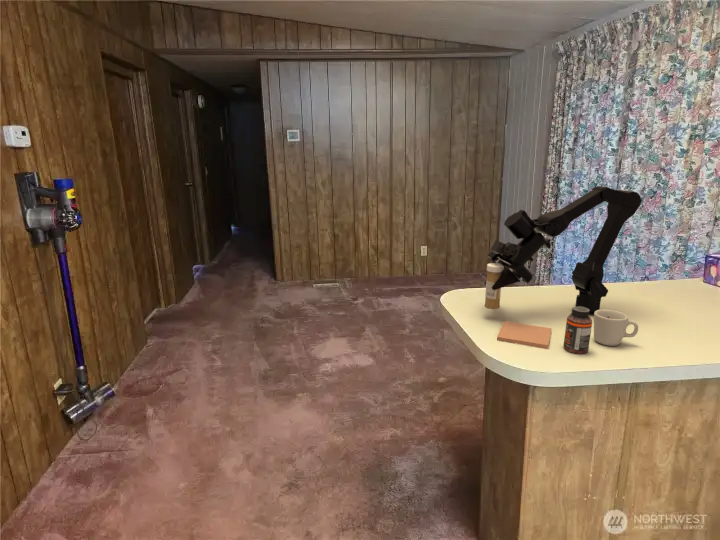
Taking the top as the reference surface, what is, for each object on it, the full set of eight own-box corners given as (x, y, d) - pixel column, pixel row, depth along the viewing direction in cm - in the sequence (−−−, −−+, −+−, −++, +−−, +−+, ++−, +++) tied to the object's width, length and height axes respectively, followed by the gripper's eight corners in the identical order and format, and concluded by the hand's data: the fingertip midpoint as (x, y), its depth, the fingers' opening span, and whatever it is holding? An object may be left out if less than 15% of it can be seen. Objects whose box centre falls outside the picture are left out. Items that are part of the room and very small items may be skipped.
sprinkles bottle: (502, 307, 144) (506, 264, 140) (492, 310, 141) (495, 267, 138) (491, 303, 148) (494, 261, 144) (480, 306, 145) (483, 263, 142)
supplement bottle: (558, 345, 126) (563, 304, 123) (580, 344, 127) (585, 304, 124) (570, 355, 120) (575, 312, 117) (592, 354, 121) (598, 312, 118)
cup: (632, 340, 130) (636, 312, 128) (638, 351, 122) (643, 322, 120) (588, 334, 133) (592, 307, 131) (592, 345, 126) (596, 317, 124)
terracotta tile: (551, 331, 135) (551, 328, 135) (548, 348, 124) (548, 345, 124) (504, 324, 140) (504, 321, 140) (496, 340, 129) (497, 336, 129)
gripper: (495, 225, 148) (460, 261, 149) (526, 237, 130) (485, 278, 131) (516, 249, 151) (482, 284, 152) (549, 263, 134) (510, 303, 135)
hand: (489, 286), depth 142 cm, fingers closed on sprinkles bottle, 4 cm apart
